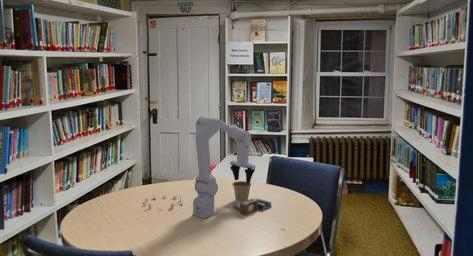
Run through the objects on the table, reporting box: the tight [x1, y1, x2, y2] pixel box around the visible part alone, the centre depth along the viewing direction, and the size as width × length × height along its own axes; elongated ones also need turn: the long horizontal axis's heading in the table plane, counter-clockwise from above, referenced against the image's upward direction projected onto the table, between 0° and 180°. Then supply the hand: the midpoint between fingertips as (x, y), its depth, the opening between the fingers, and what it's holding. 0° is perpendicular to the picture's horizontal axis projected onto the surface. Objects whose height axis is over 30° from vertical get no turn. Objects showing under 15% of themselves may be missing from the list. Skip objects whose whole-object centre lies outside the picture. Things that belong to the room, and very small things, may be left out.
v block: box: [255, 198, 273, 212], centre depth 208 cm, size 7×8×3 cm
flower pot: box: [232, 180, 252, 202], centre depth 217 cm, size 9×9×9 cm
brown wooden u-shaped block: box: [239, 198, 259, 216], centre depth 201 cm, size 9×4×5 cm, turn 139°
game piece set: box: [143, 192, 183, 211], centre depth 213 cm, size 19×20×4 cm
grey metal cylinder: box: [232, 199, 255, 214], centre depth 203 cm, size 10×4×4 cm, turn 49°
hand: (242, 181), depth 217 cm, fingers open, 7 cm apart
